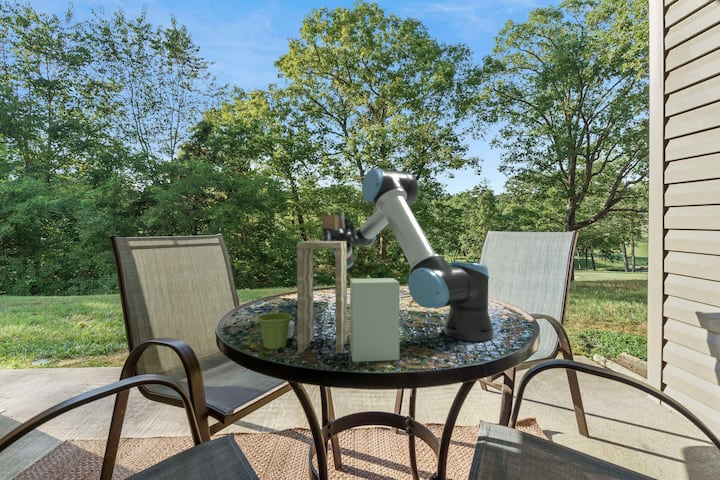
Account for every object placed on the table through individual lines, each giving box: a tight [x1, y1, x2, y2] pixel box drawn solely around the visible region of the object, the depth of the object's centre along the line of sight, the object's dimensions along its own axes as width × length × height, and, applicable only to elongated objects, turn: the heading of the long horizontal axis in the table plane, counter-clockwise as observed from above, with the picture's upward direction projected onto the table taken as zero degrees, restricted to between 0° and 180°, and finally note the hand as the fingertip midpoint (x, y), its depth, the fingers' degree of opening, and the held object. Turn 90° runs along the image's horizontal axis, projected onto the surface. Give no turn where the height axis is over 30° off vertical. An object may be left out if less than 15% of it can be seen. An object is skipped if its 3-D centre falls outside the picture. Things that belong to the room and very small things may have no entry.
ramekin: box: [287, 319, 295, 340], centre depth 112 cm, size 9×9×4 cm
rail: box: [321, 214, 344, 229], centre depth 119 cm, size 24×4×4 cm, turn 177°
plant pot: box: [257, 312, 293, 350], centre depth 102 cm, size 9×9×9 cm
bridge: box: [296, 240, 348, 354], centre depth 103 cm, size 14×12×30 cm
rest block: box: [349, 277, 400, 363], centre depth 94 cm, size 12×8×20 cm, turn 96°
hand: (335, 215), depth 123 cm, fingers closed on rail, 4 cm apart
